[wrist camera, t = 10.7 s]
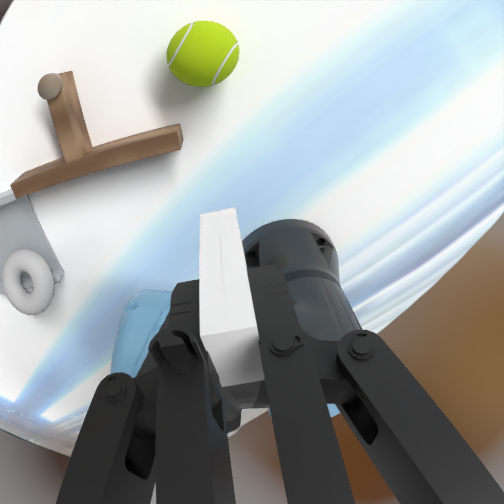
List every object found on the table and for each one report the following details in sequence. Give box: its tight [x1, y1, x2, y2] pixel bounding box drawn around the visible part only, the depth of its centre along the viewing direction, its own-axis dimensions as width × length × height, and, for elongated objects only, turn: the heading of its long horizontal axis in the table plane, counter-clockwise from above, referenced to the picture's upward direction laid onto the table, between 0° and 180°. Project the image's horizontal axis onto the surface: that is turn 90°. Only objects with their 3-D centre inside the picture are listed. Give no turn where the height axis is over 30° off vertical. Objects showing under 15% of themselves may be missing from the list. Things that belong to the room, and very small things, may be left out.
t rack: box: [10, 71, 183, 199], centre depth 29 cm, size 12×22×5 cm, turn 98°
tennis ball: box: [167, 21, 239, 87], centre depth 26 cm, size 7×7×7 cm
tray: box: [0, 189, 64, 294], centre depth 37 cm, size 15×15×2 cm
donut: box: [2, 249, 54, 315], centre depth 38 cm, size 10×4×10 cm
